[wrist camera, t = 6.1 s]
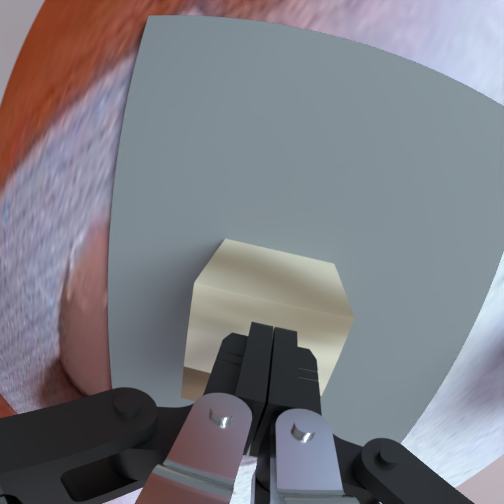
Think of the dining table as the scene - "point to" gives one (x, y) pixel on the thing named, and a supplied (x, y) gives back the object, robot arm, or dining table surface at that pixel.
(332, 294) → the block
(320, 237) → the mat
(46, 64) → the dining table surface
